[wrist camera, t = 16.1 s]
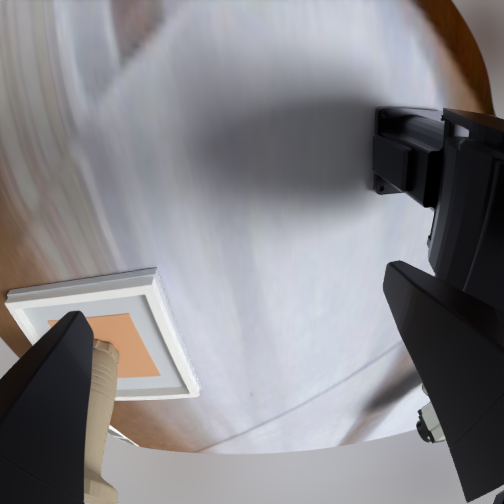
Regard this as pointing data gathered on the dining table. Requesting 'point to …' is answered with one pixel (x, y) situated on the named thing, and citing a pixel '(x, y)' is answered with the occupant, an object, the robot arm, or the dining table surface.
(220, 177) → the dining table surface
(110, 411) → the handle
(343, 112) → the dining table surface
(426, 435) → the pneumatic valve
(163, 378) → the white shallow tray
